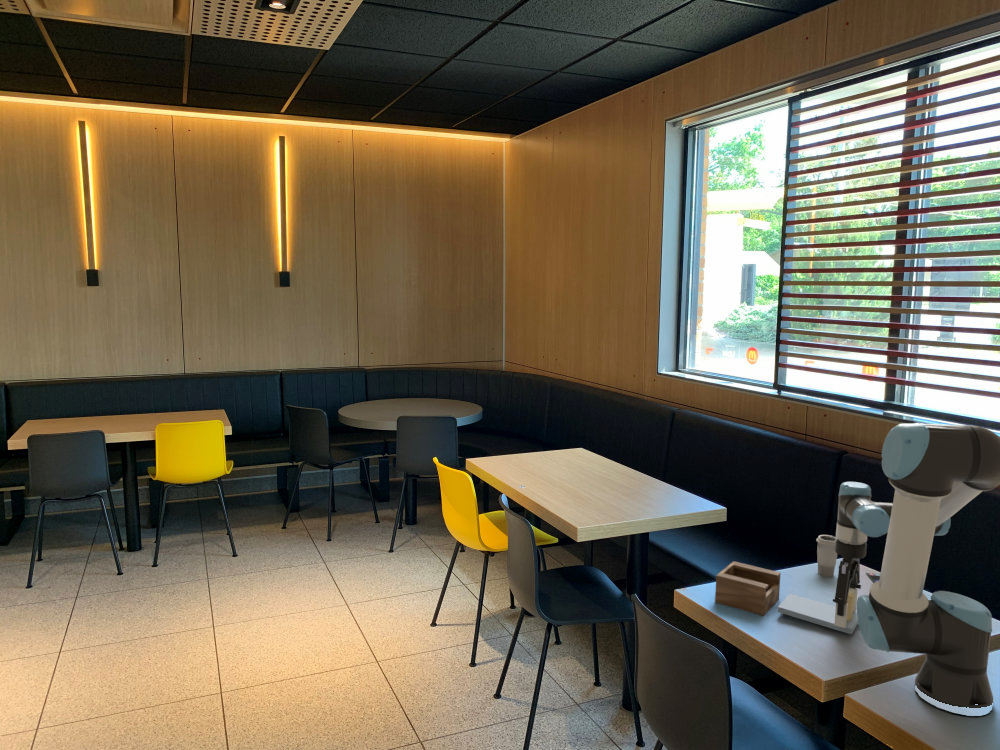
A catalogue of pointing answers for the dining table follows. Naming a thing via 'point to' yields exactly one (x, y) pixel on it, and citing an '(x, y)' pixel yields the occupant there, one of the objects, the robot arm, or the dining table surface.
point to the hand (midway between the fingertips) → (845, 618)
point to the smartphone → (873, 577)
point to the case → (747, 588)
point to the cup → (826, 555)
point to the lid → (818, 612)
